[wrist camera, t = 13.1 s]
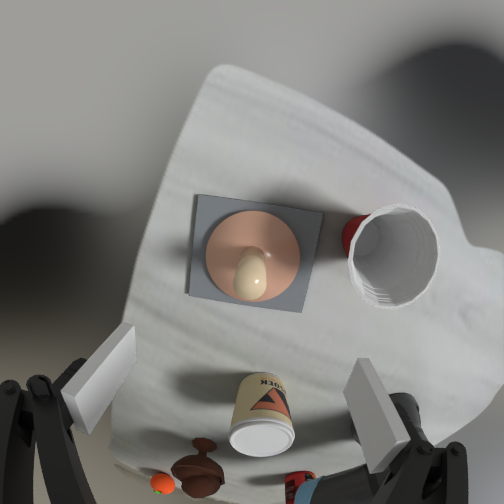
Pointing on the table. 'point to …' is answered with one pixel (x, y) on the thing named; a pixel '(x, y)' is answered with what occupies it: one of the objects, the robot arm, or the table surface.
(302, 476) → the canned food
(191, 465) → the ice cream bowl
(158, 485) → the clementine
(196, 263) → the mat
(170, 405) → the table surface
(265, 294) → the lid
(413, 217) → the plastic cup
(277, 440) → the coffee cup
